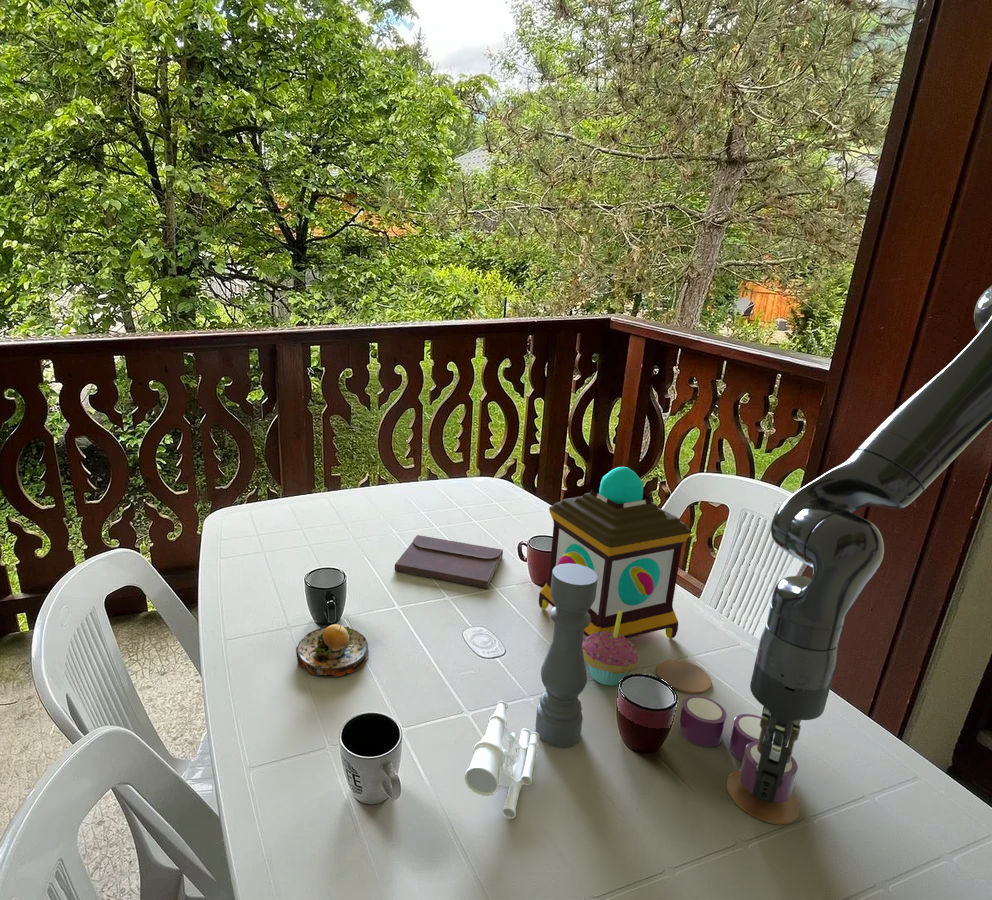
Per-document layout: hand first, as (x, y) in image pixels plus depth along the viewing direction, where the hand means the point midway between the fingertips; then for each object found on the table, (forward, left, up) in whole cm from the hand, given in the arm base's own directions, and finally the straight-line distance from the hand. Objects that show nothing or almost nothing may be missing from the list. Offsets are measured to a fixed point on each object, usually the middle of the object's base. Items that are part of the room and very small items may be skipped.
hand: (765, 780), depth 79 cm
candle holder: (+25, +4, -3) cm, 25 cm away
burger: (+62, +9, -3) cm, 63 cm away
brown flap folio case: (+62, -30, -3) cm, 69 cm away
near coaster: (0, 0, -2) cm, 2 cm away
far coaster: (+13, -19, -2) cm, 23 cm away
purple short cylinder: (0, 0, -1) cm, 1 cm away
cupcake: (+23, -12, -3) cm, 26 cm away
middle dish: (+2, -7, -2) cm, 8 cm away
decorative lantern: (+28, -27, -3) cm, 39 cm away
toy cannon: (+28, +15, -3) cm, 32 cm away
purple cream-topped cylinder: (+8, -7, -2) cm, 12 cm away
